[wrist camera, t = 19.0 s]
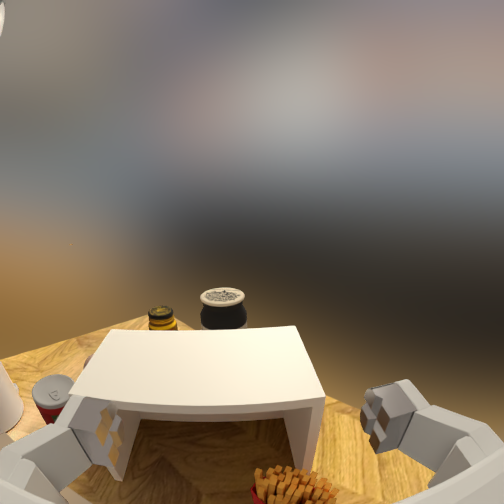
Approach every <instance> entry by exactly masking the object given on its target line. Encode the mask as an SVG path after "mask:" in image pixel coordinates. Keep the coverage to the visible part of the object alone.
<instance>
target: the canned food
mask: <svg viewBox="0 0 504 504" xmlns="http://www.w3.org/2000/svg"><path fill="white" fill-rule="evenodd" d="M73 385H74V381H73V380H72V379H71V378H70V377H68V376H65V375H60V374H56V375H50V376H47V377H44V378H42V379H41V380H39V381H38V382H37V383H36V384H35V385H34V387H33V389H32V397H33V399H34V402H35V404H36V406H37V408H38V410H39V411H40V413H41V415H42V417H43V419H44V420H45V422H46V424H47V425H48V424H50V423H52V424H54V423H55V422H56V420H57V418H58V417H59V415H60V413H61V412H62V410H63V408H64V407H65V405H66V403H67V402H68V400H69V399H70V397H69V395H68V393H69V391H70V390H71V388H72V387H73Z"/></svg>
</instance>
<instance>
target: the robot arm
mask: <svg viewBox="0 0 504 504" xmlns="http://www.w3.org/2000/svg"><path fill="white" fill-rule="evenodd" d="M4 6H5V0H0V36H1V33H2V29H3V24H4V13H5V12H4V11H5V10H4ZM364 398H365V400H366V403H365V404H364V405H363V406H362V408H361V412H360V422H361V426H362V428H363V430H364V432H365V433H367V434H369V435H371V436H370V439H369V442H370V444H371V446H372V448H373V450H374V452H375V454H379V453H383V452H386V451H390V450H393V449H397V448H398V450H400V451H401V452H403V453H405V454H406V455H408V456H409V457H411V458H412V459H414V460H416V461H417V462H419V463H421V464H422V465H424V466H426V467H427V468H429V469H431V470H432V471H434V472H436V473H435V475H434V476H433V477H432V479H431V480H430V481H429V483H428V485H427V486H428V487H429V489H427V490H425V491H423V492H420V493H418V494H416V495H413V496H411V497H408V498H406V499H403V500H401V501H398V502H396V503H393V504H504V443H503V442H502V441H501V439H500V438H499V437H498V436H497V435H496V434H495V433H494V432H493V430H492V429H491V428H490V427H489V426H488V425H487V424H486V423H483V422H480V421H477V420H473V419H470V418H468V417H465V416H462V415H460V414H457V413H454V412H451V411H449V410H446V409H443V408H441V407H438V406H436V405H433V406H430V405H429V403H428V402H427V401H426V400H425V399H424V397H423V396H422V395H421V394H420V392H419V391H418V390H417V389H416V387H415V386H414V385H413V384H412V383H411V381H409V380H407V379H405V380H402V381H398V382H394V383H391V384H386V385H382V386H378V387H374V388H369V389H368V390H367V391H366V393H365V396H364ZM23 409H24V405H23V401H22V399H21V398H20V396H19V388H18V386H17V385H16V384H15V383H12V381H11V379H10V378H9V376H8V374H7V372H6V370H5V369H4V367H3V365H2V363H1V361H0V434H2V433H4V432H6V431H8V430H10V429H11V428H12V427H13V426H15V425H16V423H17V422H18V421H19V420H20V418H21V416H22V413H23ZM117 410H118V408H117V406H116V404H115V402H114V401H112V400H105V399H99V398H93V397H87V396H86V397H85V396H80V395H75V394H74V395H72V396H71V397H70V399H69V400H68V402H67V403H66V405H65V407H64V408H63V410H62V412H61V413H60V415H59V417H58V418H57V420H56V422H55V423H54V424H52V423H50V424H48V425H46V426H44V427H43V428H41V429H39V430H37V431H35V432H33V433H31V434H29V435H27V436H25V437H23V438H21V439H19V440H17V441H15V442H13V443H11V444H9V445H7V446H5V447H3V448H2V450H1V451H0V504H69V503H68V501H67V500H66V499H65V498H64V497H63V496H62V495H61V494H60V493H59V492H60V491H62V489H64V488H65V487H66V486H68V485H69V484H70V483H71V482H72V481H74V480H75V479H76V478H77V477H78V476H80V475H81V474H82V473H83V472H84V471H86V470H87V469H88V468H89V467H90V466H91V465H92V464H97V465H103V466H108V467H114V468H115V465H116V462H117V459H118V456H119V452H118V450H117V447H119V446H120V445H121V444H123V440H124V434H125V428H124V423H123V421H122V418H120V417H119V416H118V415H117V414H116V413H117Z"/></svg>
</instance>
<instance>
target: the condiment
mask: <svg viewBox="0 0 504 504" xmlns="http://www.w3.org/2000/svg"><path fill="white" fill-rule="evenodd" d="M148 316H149V330H154V331H178V328H177V323H176V321H175V319H174V315H173V310H172V308H170V307H167V306H158V307H155V308H152V309H151V310H150V311H149V312H148Z"/></svg>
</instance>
